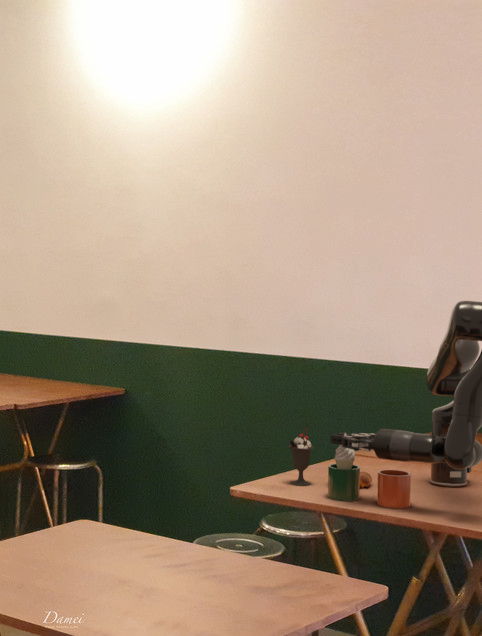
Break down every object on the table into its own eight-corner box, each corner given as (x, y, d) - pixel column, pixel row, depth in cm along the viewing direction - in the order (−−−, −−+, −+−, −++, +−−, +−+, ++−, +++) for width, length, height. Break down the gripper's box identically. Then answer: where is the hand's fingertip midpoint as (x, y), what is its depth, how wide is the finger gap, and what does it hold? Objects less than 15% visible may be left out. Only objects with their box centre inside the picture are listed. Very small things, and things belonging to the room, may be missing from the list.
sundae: (315, 482, 298) (316, 427, 297) (310, 486, 292) (311, 431, 291) (291, 479, 301) (292, 426, 300) (285, 484, 295) (286, 429, 294)
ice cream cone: (355, 492, 277) (355, 433, 276) (334, 491, 278) (335, 433, 277) (353, 488, 282) (354, 430, 281) (333, 487, 283) (334, 430, 282)
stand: (333, 492, 286) (334, 462, 285) (363, 496, 282) (363, 465, 281) (323, 498, 279) (324, 467, 279) (353, 502, 275) (354, 470, 274)
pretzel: (362, 480, 301) (362, 466, 301) (380, 488, 290) (380, 474, 290) (320, 481, 299) (321, 468, 299) (337, 490, 288) (338, 476, 288)
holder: (382, 499, 278) (383, 468, 277) (413, 503, 274) (414, 471, 273) (373, 505, 271) (374, 473, 271) (405, 509, 267) (405, 477, 267)
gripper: (410, 427, 275) (347, 420, 286) (385, 433, 264) (320, 426, 276) (409, 456, 275) (346, 448, 287) (384, 464, 265) (320, 456, 276)
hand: (334, 438), depth 281 cm, fingers closed on ice cream cone, 2 cm apart
